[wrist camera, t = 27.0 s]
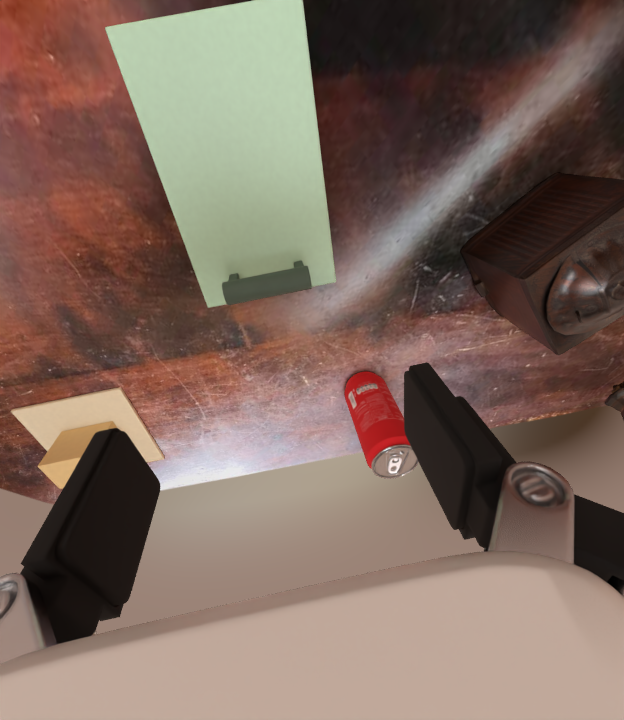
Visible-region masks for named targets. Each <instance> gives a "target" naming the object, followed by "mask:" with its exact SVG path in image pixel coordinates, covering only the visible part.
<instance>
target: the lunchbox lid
mask: <svg viewBox="0 0 624 720" xmlns="http://www.w3.org/2000/svg"><path fill="white" fill-rule="evenodd" d="M105 30H106V33H107V35H108V38H109V41H110V43H111V46H112V49H113V52H114V54H115V57H116V60H117V62H118V65H119V68H120V71H121V73H122V76H123V79H124V81H125V84H126V87H127V90H128V92H129V95H130V98H131V100H132V103H133V106H134V109H135V111H136V114H137V117H138V119H139V122H140V125H141V127H142V130H143V133H144V136H145V138H146V141H147V144H148V146H149V149H150V152H151V155H152V157H153V160H154V163H155V165H156V168H157V171H158V174H159V176H160V179H161V182H162V184H163V187H164V190H165V193H166V195H167V198H168V201H169V203H170V206H171V209H172V212H173V214H174V217H175V220H176V222H177V225H178V228H179V231H180V233H181V236H182V239H183V241H184V244H185V247H186V250H187V252H188V255H189V258H190V260H191V263H192V266H193V269H194V271H195V274H196V277H197V279H198V282H199V285H200V288H201V290H202V293H203V296H204V298H205V301H206V304H207V307H208V308H210V307H215V306H220V305H225V304H228V305H232V304H237V303H242V302H247V301H252V300H257V299H262V298H267V297H272V296H277V295H282V294H287V293H292V292H297V291H302V290H307V289H311V288H312V287H314V286H319V285H324V284H329V283H334V282H336V275H335V267H334V259H333V250H332V242H331V233H330V225H329V217H328V208H327V200H326V191H325V183H324V175H323V166H322V158H321V149H320V141H319V132H318V124H317V116H316V107H315V99H314V90H313V82H312V74H311V65H310V57H309V48H308V40H307V32H306V23H305V15H304V6H303V0H254V1H248V2H242V3H237V4H231V5H226V6H220V7H214V8H209V9H203V10H198V11H192V12H186V13H181V14H175V15H170V16H164V17H158V18H153V19H147V20H142V21H136V22H131V23H125V24H119V25H114V26H108V27H105Z"/></svg>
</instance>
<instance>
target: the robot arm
mask: <svg viewBox="0 0 624 720" xmlns="http://www.w3.org/2000/svg"><path fill="white" fill-rule="evenodd" d="M404 430H405V435H406V437H407V439H408V441H409V443H410V445H411V447H412V449H413V451H414V453H415V455H416V457H417V459H418V461H419V463H420V465H421V467H422V469H423V471H424V473H425V475H426V477H427V479H428V481H429V483H430V485H431V487H432V489H433V491H434V493H435V495H436V497H437V499H438V501H439V503H440V505H441V507H442V509H443V511H444V513H445V515H446V517H447V519H448V521H449V523H450V525H451V527H452V528H453V529H454V530H456V529H459V530H460V532H461V534H462V536H463V538H464V539H470V538H474V537H475V538H476V540H477V542H478V543H479V545H480V546H481V547H483V548H484V552H475V553H468V554H461V555H455V556H448V557H443V558H438V559H433V560H428V561H423V562H418V563H413V564H408V565H403V566H398V567H393V568H388V569H384V570H379V571H375V572H370V573H366V574H361V575H356V576H352V577H348V578H343V579H338V580H334V581H329V582H324V583H320V584H316V585H311V586H306V587H302V588H297V589H293V590H289V591H284V592H280V593H275V594H271V595H267V596H262V597H257V598H253V599H248V600H244V601H239V602H235V603H231V604H226V605H222V606H217V607H214V608H208V609H205V610H200V611H195V612H191V613H187V614H182V615H178V616H174V617H170V618H165V619H160V620H156V621H152V622H147V623H143V624H139V625H135V626H130V627H126V628H121V629H117V630H113V631H109V632H105V633H101V634H97V632H96V627H97V624H98V621H99V620H100V621H103V620H108V619H112V618H116V617H120V614H121V610H122V607H123V604H124V603H126V602H127V601H128V599H129V597H130V594H131V591H132V587H133V584H134V580H135V577H136V573H137V570H138V566H139V563H140V559H141V556H142V552H143V549H144V545H145V541H146V538H147V535H148V531H149V527H150V524H151V520H152V517H153V514H154V510H155V507H156V503H157V499H158V496H159V492H160V483H159V480H158V479H157V477H156V476H155V474H154V473H153V471H152V470H151V468H150V467H149V465H148V464H147V462H146V461H145V460H144V458H143V457H142V455H141V454H140V452H139V451H138V449H137V448H136V446H135V445H134V443H133V442H132V441H131V439H130V438H129V436H128V435H127V433H126V432H124V431H121V430H120V429H118V428H112V429H107V430H103V431H98V432H96V433H95V434H94V435H93V437H92V439H91V441H90V442H89V444H88V446H87V448H86V450H85V451H84V453H83V455H82V457H81V458H80V460H79V462H78V464H77V465H76V467H75V469H74V471H73V472H72V474H71V476H70V478H69V479H68V481H67V483H66V485H65V487H64V488H63V490H62V492H61V494H60V495H59V497H58V499H57V501H56V502H55V504H54V506H53V508H52V510H51V511H50V513H49V515H48V517H47V518H46V520H45V522H44V524H43V525H42V527H41V529H40V531H39V533H38V534H37V536H36V538H35V540H34V541H33V543H32V545H31V547H30V549H29V550H28V552H27V554H26V556H25V557H24V559H23V561H22V563H21V564H22V565H23V566H24V568H23V570H22V572H21V573H20V574H17V573H12V574H6V575H4V576H1V577H0V720H624V513H622V512H619V511H616V510H614V509H611V508H608V507H606V506H603V505H601V504H598V503H595V502H593V501H590V500H587V499H585V498H582V497H579V496H577V495H574V493H573V489H572V488H571V486H570V484H569V483H568V481H567V480H565V478H564V477H563V476H561V474H559V473H558V472H556V471H554V470H553V469H551V468H550V467H547V466H545V465H542V464H539V463H534V462H518V463H516V462H515V460H514V459H513V458H512V457H511V455H510V454H509V453H508V452H507V450H506V449H505V448H504V447H503V445H502V444H501V443H500V442H499V440H498V439H497V438H496V437H495V436H494V434H493V433H492V432H491V431H490V429H489V428H488V427H487V426H486V424H485V423H484V422H483V421H482V419H481V418H480V417H479V416H478V414H477V413H476V412H475V411H474V409H473V408H472V407H471V406H470V405H469V403H468V402H467V401H466V400H465V399H464V398H463V397H461V396H459V397H455V396H454V395H453V394H452V393H451V391H450V390H449V389H448V387H447V386H446V385H445V384H444V382H443V381H442V380H441V378H440V377H439V376H438V375H437V373H436V372H435V371H434V369H433V368H432V367H431V365H430V364H429V363H423V364H418V365H413V366H410V368H409V371H406V372H405V373H404Z"/></svg>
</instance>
